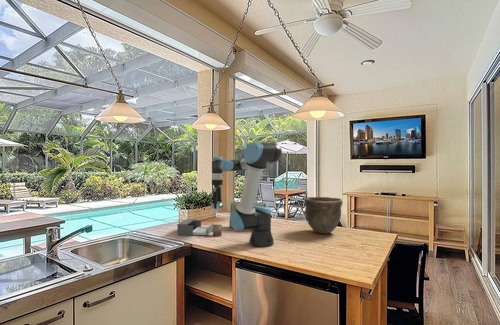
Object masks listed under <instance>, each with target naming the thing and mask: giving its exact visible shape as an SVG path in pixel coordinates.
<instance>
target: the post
mask: <svg viewBox="0 0 500 325" xmlns="http://www.w3.org/2000/svg"><path fill="white" fill-rule="evenodd" d="M222 226H223V225H222V224H217V223H216V224H214V225H213V231H212V237H215V238H216V237H217V238H218V237H222V234H223V233H222V232H223V229H222V228H223V227H222Z"/></svg>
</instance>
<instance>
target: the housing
mask: <svg viewBox="0 0 500 325" xmlns="http://www.w3.org/2000/svg"><path fill="white" fill-rule="evenodd" d="M197 227H202V220H201V219H195V218H186V219H184V220H182V221H180V222H178V223H177V230H176V231H177V232H176V233H177V236H184V237H185V236H186V237H196V236H197V235H193V230H195V229H196V228H197Z"/></svg>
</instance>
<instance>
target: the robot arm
mask: <svg viewBox="0 0 500 325" xmlns="http://www.w3.org/2000/svg"><path fill="white" fill-rule="evenodd" d="M282 156H283V151H282V147H281V146H280V145H279V144H277V143H275V142H264V141H263V142H262V141H251V142H250V143H248V144H247V145H246V146H245V148H244V151H243V158H242V159H223V157H221V156H216V157H212V158H211V179H212V180H211V185H212V186H214V187H213V188H212V202H211V203H212V204H214V208H213V214H218V213H219V212H221V208H218V204H217V203H223V200H222V187H221V186H223V182H224V181H223V176H224V174H223V172H244V171H245V172H246V175H245V178H244V182H243V187H242V192H241V197H240V199H241V200H240V199H239V202H240V204H238V205H237V206H236V210H235V211H232V212H231V214H230V213H229V222H230V221H231V225H232V227H233V228H232V229H234V230H235V231H237V232H238V231H239V232H240V231H241V232H242V231H248V230H247V229H252V230H251V234H250V237H249V240H248V241H249V245H250V246H252V247H257V248H258V247H259V248H265V247H266V248H268V247H271V246H273V245H274V243H275V242H274V238H273V237H274V236H273V234H272V227H271V226H272V225H271V224H272V210H271V208H270V207H269V206H268V207H263V206H254V204H255V203H256V201H257V195H258V191H259V189H260V188H259V187H260V183H261V179H262V175H263V172H264V171H265V170H266V169H267V167H268V164H269V165H271V164H274V163H275V164H276V163H278V162H279V161H280V160H281V159H282Z"/></svg>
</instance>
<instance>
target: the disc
mask: <svg viewBox="0 0 500 325" xmlns="http://www.w3.org/2000/svg"><path fill="white" fill-rule="evenodd" d="M212 203H213V202H211V204H210V205H211V206H210V207H211V208H213V209H214V204H212ZM217 204H218V208H224V203H223V202H221V203H217Z"/></svg>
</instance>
